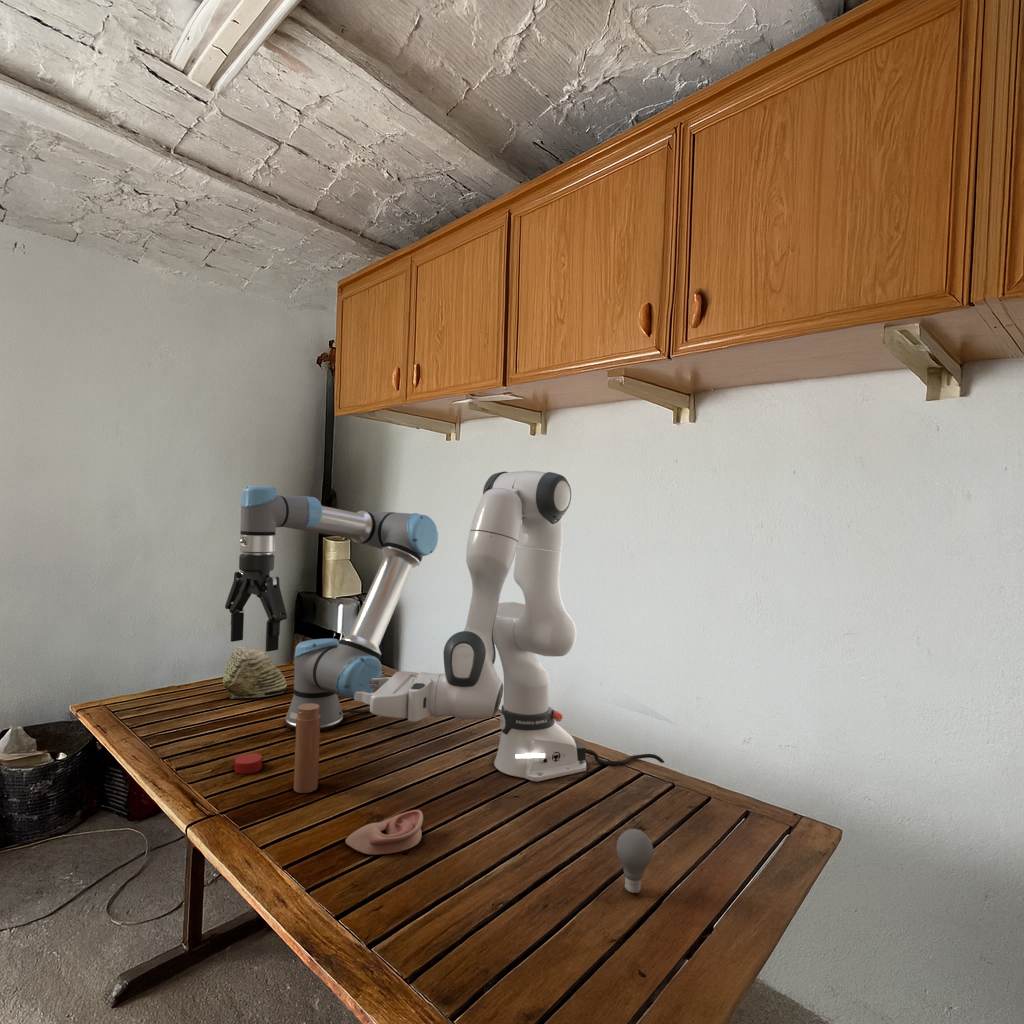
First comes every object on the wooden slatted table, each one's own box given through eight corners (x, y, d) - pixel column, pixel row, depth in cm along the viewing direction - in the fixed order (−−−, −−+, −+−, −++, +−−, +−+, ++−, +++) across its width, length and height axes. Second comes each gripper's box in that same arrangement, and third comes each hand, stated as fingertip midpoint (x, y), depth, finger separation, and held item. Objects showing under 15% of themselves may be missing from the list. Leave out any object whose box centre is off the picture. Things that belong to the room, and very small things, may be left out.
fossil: (218, 695, 195) (220, 647, 195) (278, 685, 208) (279, 640, 207) (228, 703, 189) (230, 653, 188) (289, 692, 201) (290, 645, 201)
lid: (237, 763, 148) (237, 753, 148) (263, 762, 149) (264, 752, 149) (231, 774, 142) (231, 764, 142) (259, 773, 144) (260, 763, 144)
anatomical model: (338, 827, 114) (365, 799, 125) (337, 849, 114) (364, 818, 125) (408, 839, 111) (429, 808, 122) (407, 861, 111) (428, 828, 122)
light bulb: (610, 879, 108) (613, 822, 108) (644, 879, 109) (647, 822, 109) (619, 902, 102) (622, 840, 102) (655, 901, 103) (658, 840, 103)
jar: (313, 793, 135) (316, 710, 135) (289, 792, 135) (293, 709, 135) (320, 783, 140) (324, 703, 140) (298, 782, 140) (301, 702, 140)
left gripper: (211, 549, 149) (208, 639, 149) (276, 559, 135) (272, 657, 135) (240, 548, 155) (237, 634, 156) (305, 557, 141) (302, 651, 142)
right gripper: (437, 666, 145) (378, 662, 146) (414, 693, 124) (346, 687, 126) (436, 694, 145) (377, 689, 146) (413, 725, 125) (345, 719, 126)
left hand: (253, 645), depth 146 cm, fingers open, 13 cm apart
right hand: (362, 689), depth 136 cm, fingers open, 8 cm apart
